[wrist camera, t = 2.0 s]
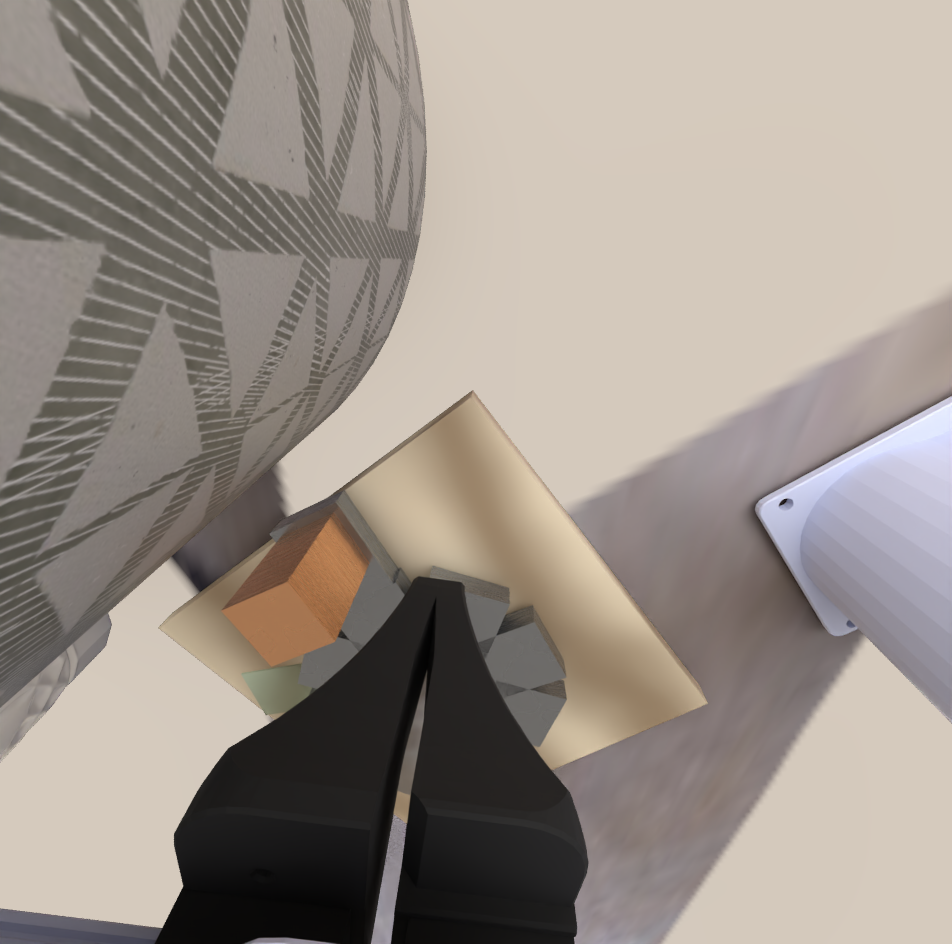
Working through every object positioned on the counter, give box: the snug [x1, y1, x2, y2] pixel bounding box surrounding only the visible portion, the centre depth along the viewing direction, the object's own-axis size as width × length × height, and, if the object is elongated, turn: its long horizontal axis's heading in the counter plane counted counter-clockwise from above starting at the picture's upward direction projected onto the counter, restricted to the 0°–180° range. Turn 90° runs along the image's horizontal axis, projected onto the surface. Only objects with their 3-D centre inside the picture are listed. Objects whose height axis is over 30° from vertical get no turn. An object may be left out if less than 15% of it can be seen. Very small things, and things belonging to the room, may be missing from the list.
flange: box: [221, 490, 567, 747], centre depth 18 cm, size 15×11×5 cm
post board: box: [159, 391, 708, 824], centre depth 19 cm, size 18×18×6 cm
